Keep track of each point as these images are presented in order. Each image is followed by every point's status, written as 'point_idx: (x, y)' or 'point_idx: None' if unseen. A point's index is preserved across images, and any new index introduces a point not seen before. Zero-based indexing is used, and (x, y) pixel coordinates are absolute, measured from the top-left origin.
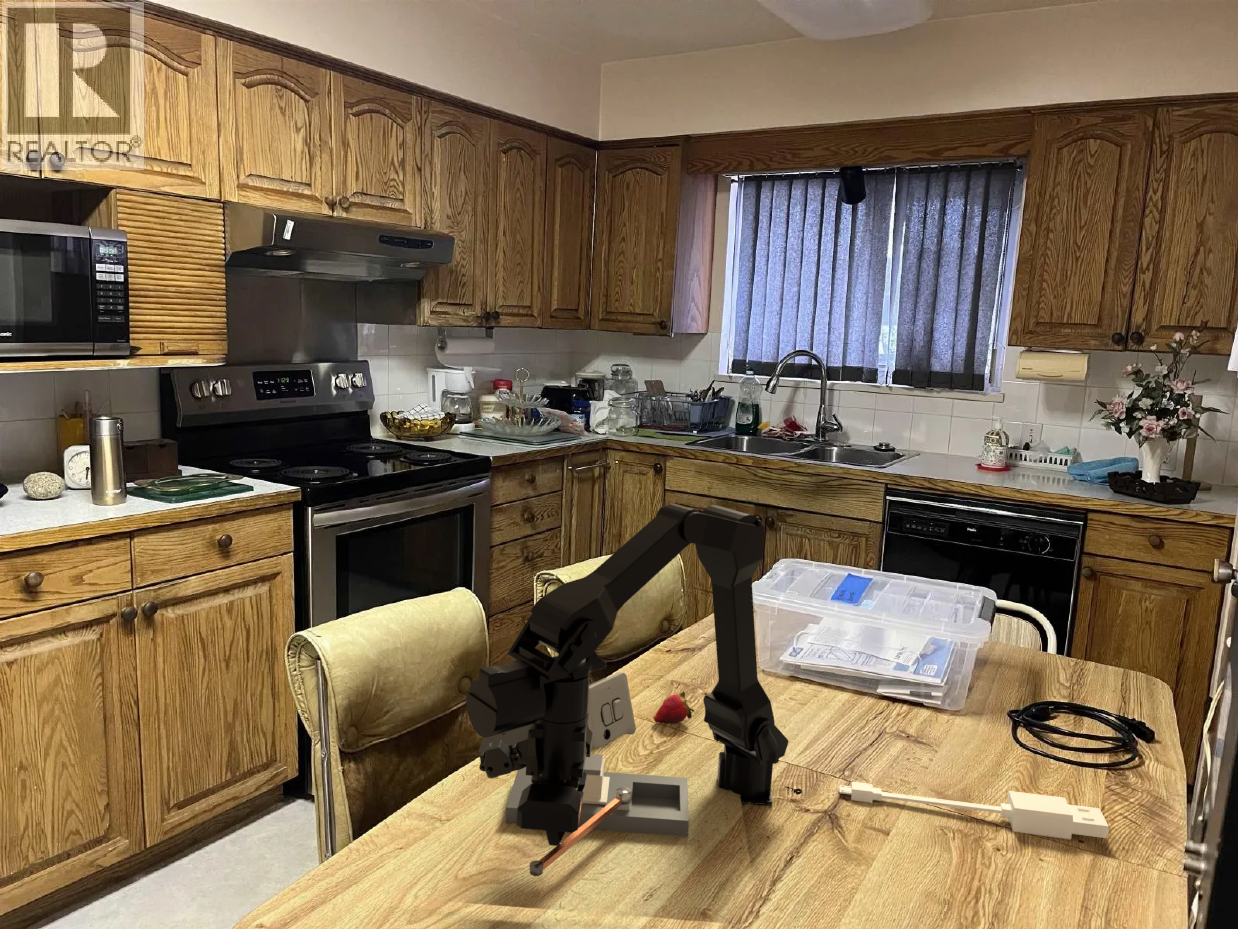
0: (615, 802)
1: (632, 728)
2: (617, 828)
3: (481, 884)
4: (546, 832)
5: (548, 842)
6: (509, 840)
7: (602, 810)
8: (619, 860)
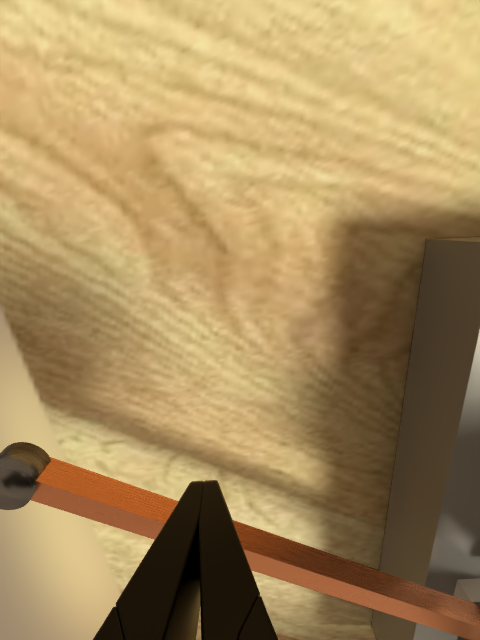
0: (458, 633)
1: None
2: (401, 544)
3: (136, 228)
4: (159, 535)
5: (188, 487)
6: (371, 264)
7: (409, 609)
8: (302, 529)
